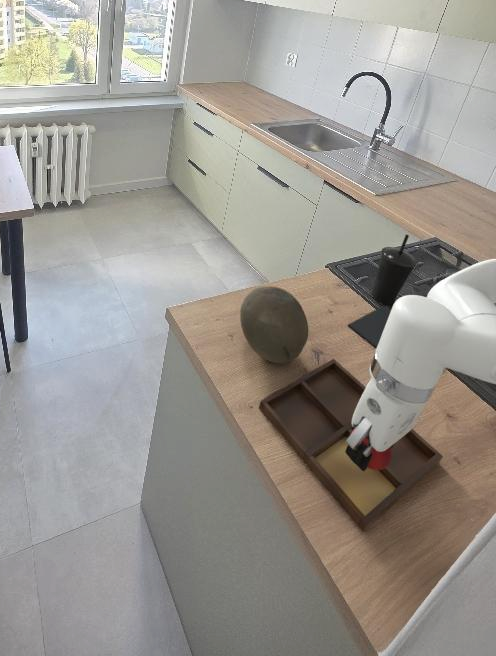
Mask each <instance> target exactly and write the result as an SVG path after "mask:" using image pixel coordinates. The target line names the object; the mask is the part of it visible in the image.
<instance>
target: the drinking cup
mask: <svg viewBox="0 0 496 656" xmlns="http://www.w3.org/2000/svg"><path fill="white" fill-rule="evenodd" d="M409 237H410V235H409V234H405V235H404V238H403V241H402V243H401V246H400V248H398V247H393V246H385V247H383V248H381V250H380V258H379V263H378V267H377V271H376V276H375V279H374V283H373V287H372V292H371V297H372V298H373V299H374V300H375V301H376V302H378V304H379V303H380V304H382V305H384V306H385V305H386V306H391V305H393V304H394V303H395V301H396V298H397V297H398V295H399V293H400V291H401V290H402V288H403V286H404V285H405V284H406V282H407V280H408V278H409V276H410V275H411V273H412V271H413V270H414V268H416V266H417V265H418V261H417V259H416V257H415V256H414V255H412V254H411V253H409V252H408V251H406V250H405V247H406V245H407V242H408V240H409Z"/></svg>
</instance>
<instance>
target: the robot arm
mask: <svg viewBox="0 0 496 656" xmlns="http://www.w3.org/2000/svg"><path fill="white" fill-rule="evenodd" d="M390 310H391V312H390V315H389V317H388V320H387V323H386V325H385V328H384V330H383V333H382V336H381V338H380V341H379V343H378V346H377V349H376V348H375V352H374V354H373V356H372V359H371V361H370V362H371V363H370V364H369V369H368V370H369V371H368V372H369V374H370V379H369V381H368V383H367V385H366V386H365V387H366V388H365V390H364V392H363V394H362V396H361V398H360V400H359V402H358V405H357V407H356V409H355V412H354V414H353V417H352V427H355V428H356V429H355V430H354V431H353V432H352V434H351V435H350V436H349V437H348V439H347V440H346V443H347V444H348V446H347V448H346V451H345V452H346V454H347V455H348V456H349V458H350V459H351V460H352V461H353V462H354V463H355V464H356V465H357V466H358V467H359V468H360V469H361V470H362V471H365V470H366V469H367V467H368V465H369V462H370V460H371V458H372V456H373V455H372V453H371V451H372V450H373V448H374V449H375V450H376V451H379V452H383V451H385V450H387V449H388V448H389V447H391V449H392V448H393V446H394V444H395V443H396V442H397V441H398V440H399V439H401V438H402V437H403V436H404V435H406V434H407V433H408V432H409V431H410V430H411V429H414V428H415V426H417V423H418V421H419V418H420V416H421V413H422V411H423V408H424V406H425V405H426V404H427V403H428V402H429V401H430V399H431V396H432V395H433V392H434V390H435V388H436V386H437V384H438V382H439V380H440V379H441V376H442V374H443V372H444V370H445V369H449V370H452V371H455V372H458V373H459V374H460V373H461V374H463V375H466V376H469V377H471V378H474V379H477V380H479V381H483V382H486V383H489V384H493V385H496V258H491V259H486V260H483V261H479V262H477V263H474V264H472V265H469V266H467V267H465V268H463V269H461V270H458V271H457V272H454V273H453V274H450V275H449V276H447V277H445V278H443V279H442V280H440V281H439V282H437V283H436V284H434V286H432V288H431V289H430V290H429V291H428V293H427V295H426V296H422V295H416V294H406V295H403V296H401V297H399V298H397V299H396V300H395V301H394V302H393V304H392V307H391V309H390ZM365 437H366V438H367V439H368V440H369V441H370V442H369V444H368V445H367V446H366V445H365V444H364V443H363V442H362V440H363V439H364V438H365Z"/></svg>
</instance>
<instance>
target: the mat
mask: <svg viewBox="0 0 496 656" xmlns="http://www.w3.org/2000/svg"><path fill="white" fill-rule="evenodd" d="M391 310H392V309H390V308H388V307H387V306H385V305H381V307H379V308H377V309H375V310H372V311H371V312H369V313H367V314H365V315H363V316H361V317H360V318H358V319H355V321H352V322H350V323H349V324H348V325H347V327H348V328H350V329H351V330H352V331H353V332H355V333H356V334H358V336H360V338H362V339H364V340H365V341H366V342H367V343H369V344H370V345H371V346H372V347H374V349H375V350H376V349H377V346H378V343H379V341H380V338H381V336H382V333H383V330H384V328H385V325H386V323H387V320H388V317H389V315H390V312H391Z"/></svg>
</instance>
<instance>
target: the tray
mask: <svg viewBox="0 0 496 656" xmlns="http://www.w3.org/2000/svg"><path fill="white" fill-rule="evenodd" d="M365 388H366V386H365V385H364V384H363V383H361V382H360V380H358V379H357V378H356V377H355V376H354V375H353V374H352V373H350V371H348V370H347V369H346V368H345V367H344V366H342V364H340V363H339V362H338V361H337V360H336V359H335V358H332V359H330V360H328V361H326V362H325V363H323V364H322V365H319V366H318V367H316V368H314V369H313V370H311V371H309V372H308V373H306V374H304V375H303V376H301V377H299V378H298V379H296V380H294V381H292V382H291V383H289V384H287V385H286V386H284V387H282V388H280V389H279V390H277V391H274V392H273V393H271V394H270V395H268V396H266V397H265V398H263V399H261V400H260V401H259V406H258V409H259V411H261V412H262V414H263V415H265V417H266V418H267V420H268V421H269V422H270V423H271V424H272V425H273V427H274V428H275V429H276V431H278V433H279V435H281V436H282V437H283V439H284V440H286V442H287V443H288V445H289V446H290V447H291V448H292V449H293V451H294V452H295V453H296V454H297V455H298V456H299V457H300V459H301V460H302V461H303V462H304V463H305V465H306V467H308V468H309V469H310V471H311V472H312V473H313V474H314V476H315V477H316V478H317V479H318V480H319V482H320V483H321V484H322V485H323V486H324V487H325V489H326V490H327V491H328V492H329V494H331V496H332V497H333V498H334V499H335V501H336V502H337V504H339V505H340V507H341V508H342V509H343V510H344V511H345V512H346V514H347V515H348V516H349V517H350V519H351V520H352V521H353V522H354V524H356V526H357V527H358V528H359V530H360V531H361V532H364V531H366V530H367V529H368V528H369V527H370V526H371V525H372V524H373V523H375V522H376V521H377V520H378V519H379V518H380V517H381V516H382V515H384V513H386V512H387V511H388V510H389V509H390V508H391V507H392V506H393V505H395V503H397V502H398V501H399V500H400V499H401V498H403V497H404V495H406V494H407V493H408V492H409V491H410V490H411V489H412V488H413V487H415V486H416V485H417V484H418V483H419V482H421V480H422V479H424V477H426V476H427V475H428V474H429V473H430V472H431V471H433V470H434V469H435V468H436V467H437V466H438V465H439V464H440V462H441V461H442V460H443V457H444V456H443V455H442V454H441V453H440V452H439V451H438V450H437V449H435V447H433V445H431V443H429V442H428V441H426V440H425V439H424V437H422V436H421V435H420V434H419V433H417V432H416V430H414V428H412V429H411V430H410V431H409V432H408V433H407V434H406V435H404V436H403V437H402V438H401V439H399V440H398V441H397V442H396V443H395V444H394V446H393V448H392V458H391V462H390V463H389V465H388V466H387V467H386V468H385V469H382V470H373V469H369V468H367V469H366V470H365V471H362V470H361V469H360V468H359V467H358V466H357V465H356V464H355V463H354V462H353V461H352V460H351V459H350V458H349V456H348V455H347V454H346V452H345V451H346V448H347V446H348V444H347V443H346V440H347V439H348V437H349V436H350V434H351V433H352V431H353V430H354V428H355V427H352V417H353V414H354V412H355V409H356V407H357V405H358V402H359V400H360V398H361V396H362V394H363V392H364V390H365Z"/></svg>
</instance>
